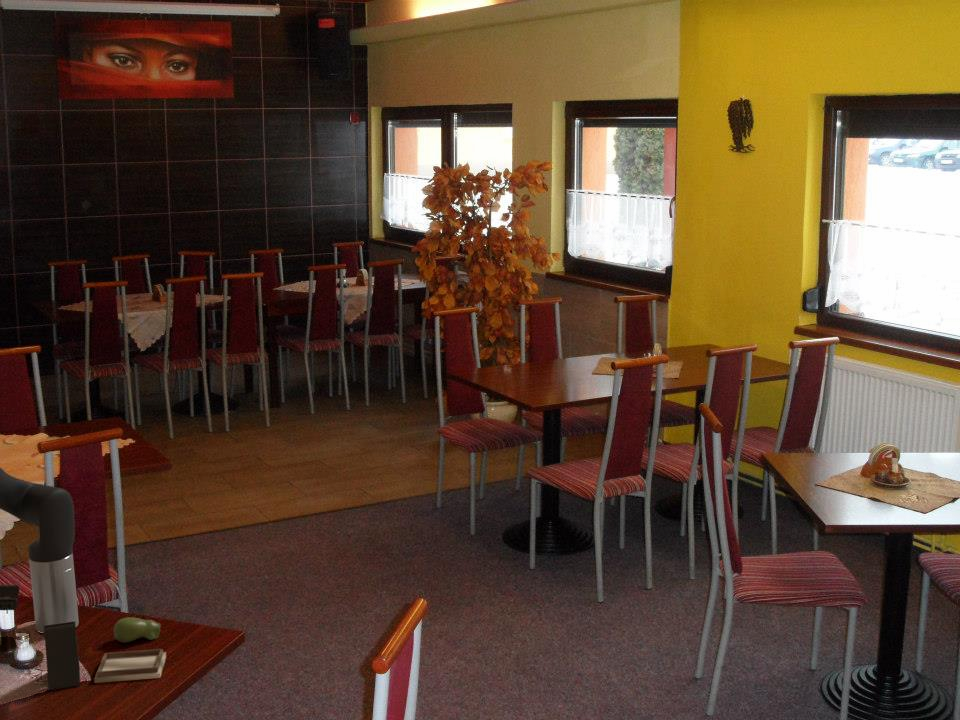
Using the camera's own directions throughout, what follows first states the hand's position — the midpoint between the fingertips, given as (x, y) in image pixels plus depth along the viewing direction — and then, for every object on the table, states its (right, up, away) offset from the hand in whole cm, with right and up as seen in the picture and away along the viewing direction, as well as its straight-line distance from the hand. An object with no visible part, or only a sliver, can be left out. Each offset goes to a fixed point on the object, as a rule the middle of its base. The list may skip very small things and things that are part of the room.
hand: (18, 597), depth 228 cm
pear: (+18, -14, +23) cm, 32 cm away
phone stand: (+8, -18, +4) cm, 20 cm away
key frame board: (+20, -17, +8) cm, 28 cm away
